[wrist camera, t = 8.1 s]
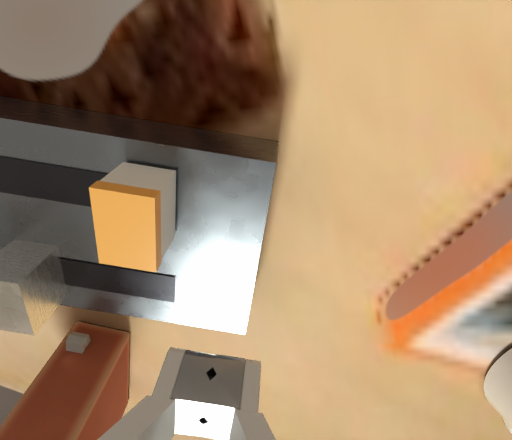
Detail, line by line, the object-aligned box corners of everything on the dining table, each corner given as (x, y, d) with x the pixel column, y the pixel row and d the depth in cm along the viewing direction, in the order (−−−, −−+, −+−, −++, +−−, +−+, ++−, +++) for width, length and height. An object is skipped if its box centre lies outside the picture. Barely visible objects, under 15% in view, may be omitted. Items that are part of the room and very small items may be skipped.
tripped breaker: (177, 169, 18) (154, 198, 15) (175, 236, 20) (156, 272, 17) (122, 161, 18) (88, 187, 15) (127, 228, 20) (99, 263, 17)
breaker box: (278, 141, 21) (274, 192, 14) (250, 297, 28) (238, 381, 21) (-55, 87, 21) (-215, 112, 14) (0, 257, 28) (-89, 327, 21)
